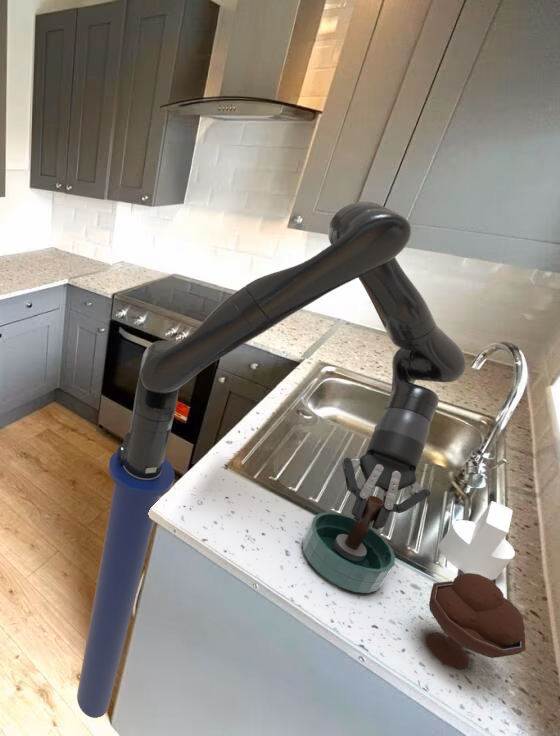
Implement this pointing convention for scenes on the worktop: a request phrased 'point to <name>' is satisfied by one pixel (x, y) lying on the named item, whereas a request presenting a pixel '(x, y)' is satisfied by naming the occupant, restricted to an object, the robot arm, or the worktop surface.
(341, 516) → the mixing bowl
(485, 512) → the base with upright slab
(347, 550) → the brown peg on base
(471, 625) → the ice cream bowl
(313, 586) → the worktop surface
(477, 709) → the worktop surface
